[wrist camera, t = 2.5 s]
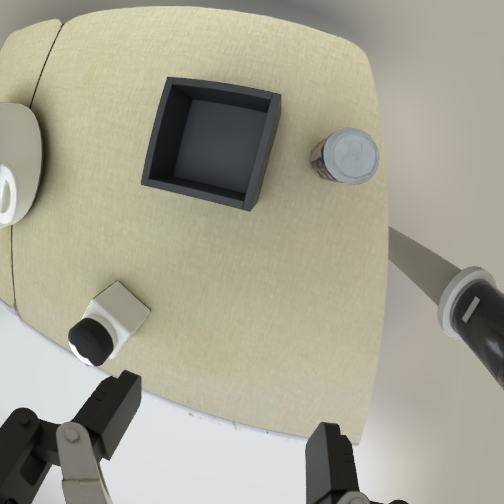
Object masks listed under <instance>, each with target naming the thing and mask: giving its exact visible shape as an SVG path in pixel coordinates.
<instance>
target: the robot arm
mask: <svg viewBox="0 0 504 504" xmlns="http://www.w3.org/2000/svg"><path fill="white" fill-rule="evenodd" d="M450 325H451V327H452V329H453V330H454V331H455V332H456V333H457V334H458V335H459V336H460V337H461V338H462V339H463V340H464V342H465V343H466V344H467V345H468V346H469V348H470V349H471V350H472V351H473V352H474V353H475V354H476V356H477V357H478V358H479V359H480V361H481V362H482V363H483V364H484V366H485V367H486V368H487V369H488V371H489V372H490V373H491V374H492V376H493V377H494V378H495V379H496V381H497V382H498V383H499V385H500V386H501V387H502V389H503V390H504V294H503V293H502V292H501V291H499V290H498V289H497V288H495V287H494V286H492V285H491V284H490V283H489V282H488V281H486V280H484V279H475V280H473V281H471V282H469V283H468V284H466V285H465V286H464V287H463V288H462V289H461V291H460V292H459V293H458V295H457V296H456V298H455V300H454V302H453V304H452V307H451V310H450ZM140 402H141V376H139V375H137V374H134V373H132V372H130V371H127V370H124V371H123V372H122V373H121V375H120V376H119V378H118V379H117V378H115V377H113V376H110V377H108V378H106V379H105V380H103V381H101V383H100V384H99V385H98V387H97V388H96V390H95V391H94V392H93V393H92V395H91V397H89V398H88V400H87V401H86V402H85V404H84V405H83V407H82V408H81V409H80V410H79V412H78V413H77V414H76V416H75V417H74V419H72V420H71V421H70V422H66V423H63V424H54V423H51V422H47V421H44V420H41V419H38V417H37V415H36V414H35V413H34V412H33V411H32V410H30V409H28V408H18V409H16V410H14V411H13V412H12V413H11V415H10V416H9V417H8V419H7V420H6V421H5V422H4V424H3V425H2V426H1V428H0V504H31V503H32V501H33V499H34V497H35V495H36V493H37V492H38V490H39V488H40V486H41V484H42V482H43V480H44V479H45V477H46V475H47V473H48V471H49V469H50V467H51V466H52V464H54V465H57V466H60V467H61V469H62V474H63V480H62V489H63V493H64V497H65V500H66V504H113V503H112V500H111V498H110V495H109V492H108V489H107V486H106V483H105V480H104V477H103V474H102V470H101V467H100V464H99V462H100V461H101V459H102V457H103V458H105V459H107V460H110V459H111V457H112V455H113V453H114V451H115V450H116V448H117V446H118V444H119V442H120V440H121V438H122V437H123V435H124V433H125V431H126V430H127V428H128V426H129V424H130V422H131V421H132V419H133V417H134V415H135V413H136V412H137V409H138V408H139V406H140ZM305 456H306V504H383V503H378V502H373V501H370V500H369V499H368V497H367V496H366V495H365V494H363V493H361V492H360V490H359V486H358V479H357V473H356V467H355V463H354V456H353V449H352V444H351V442H350V441H349V439H348V438H347V436H346V435H341V433H340V427H339V425H338V424H335V423H326V422H321V423H320V424H319V426H318V427H317V428H316V430H315V431H314V433H313V434H312V435H311V437H310V438H309V440H308V441H307V444H306V450H305ZM389 504H408V503H407V502H405V501H403V500H394V501H393V502H391V503H389Z"/></svg>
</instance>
